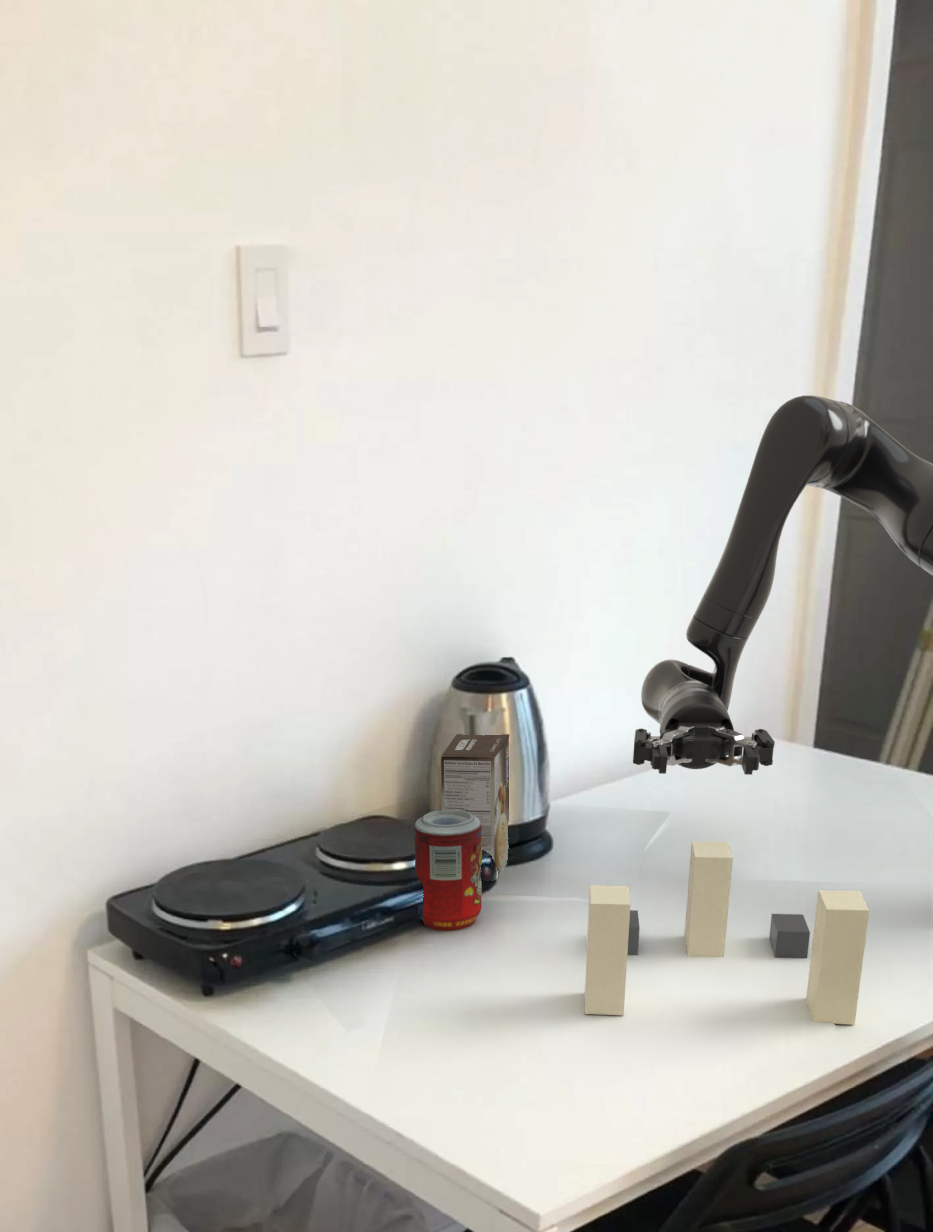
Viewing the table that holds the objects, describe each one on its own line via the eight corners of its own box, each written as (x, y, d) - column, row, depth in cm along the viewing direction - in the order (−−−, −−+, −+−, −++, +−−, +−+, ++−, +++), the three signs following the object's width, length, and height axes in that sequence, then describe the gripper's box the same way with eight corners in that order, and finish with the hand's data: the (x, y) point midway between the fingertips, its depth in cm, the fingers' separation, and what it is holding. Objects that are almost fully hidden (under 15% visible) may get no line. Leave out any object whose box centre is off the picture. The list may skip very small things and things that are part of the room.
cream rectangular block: (622, 994, 143) (628, 885, 138) (623, 1015, 138) (630, 904, 134) (584, 992, 144) (589, 885, 139) (584, 1014, 139) (590, 903, 135)
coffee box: (456, 860, 181) (455, 732, 174) (509, 863, 179) (510, 733, 172) (441, 888, 173) (439, 754, 167) (496, 891, 171) (497, 756, 164)
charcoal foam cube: (799, 946, 151) (803, 914, 150) (806, 965, 147) (810, 932, 145) (768, 945, 152) (771, 913, 150) (774, 964, 147) (777, 931, 146)
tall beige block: (719, 944, 153) (728, 841, 149) (723, 962, 148) (732, 857, 144) (683, 943, 154) (691, 841, 149) (686, 961, 149) (695, 856, 145)
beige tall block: (845, 1002, 138) (859, 890, 134) (854, 1025, 134) (869, 910, 129) (805, 1001, 139) (818, 890, 135) (813, 1023, 134) (826, 909, 130)
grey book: (635, 941, 155) (637, 910, 153) (637, 959, 150) (639, 927, 149) (605, 940, 155) (607, 909, 154) (606, 958, 151) (608, 926, 150)
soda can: (487, 933, 159) (486, 824, 154) (420, 938, 159) (417, 830, 154) (476, 909, 165) (475, 803, 160) (412, 913, 166) (409, 808, 161)
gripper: (632, 694, 169) (637, 729, 155) (765, 694, 166) (783, 729, 151) (628, 759, 172) (632, 798, 158) (758, 760, 169) (775, 800, 154)
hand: (706, 764), depth 155 cm, fingers open, 8 cm apart
